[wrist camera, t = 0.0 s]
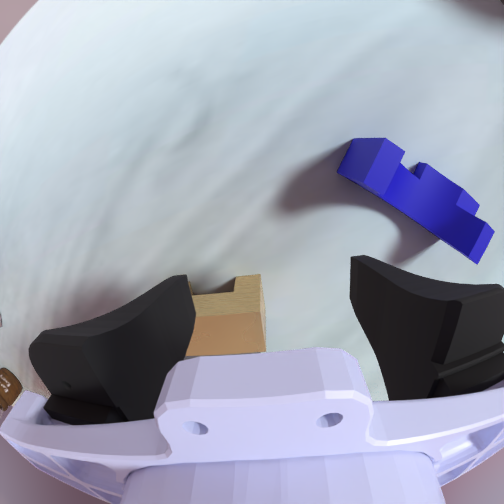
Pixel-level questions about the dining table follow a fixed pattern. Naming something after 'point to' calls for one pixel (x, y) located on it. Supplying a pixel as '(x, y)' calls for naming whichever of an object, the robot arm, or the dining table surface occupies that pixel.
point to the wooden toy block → (230, 320)
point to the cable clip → (418, 194)
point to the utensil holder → (8, 388)
